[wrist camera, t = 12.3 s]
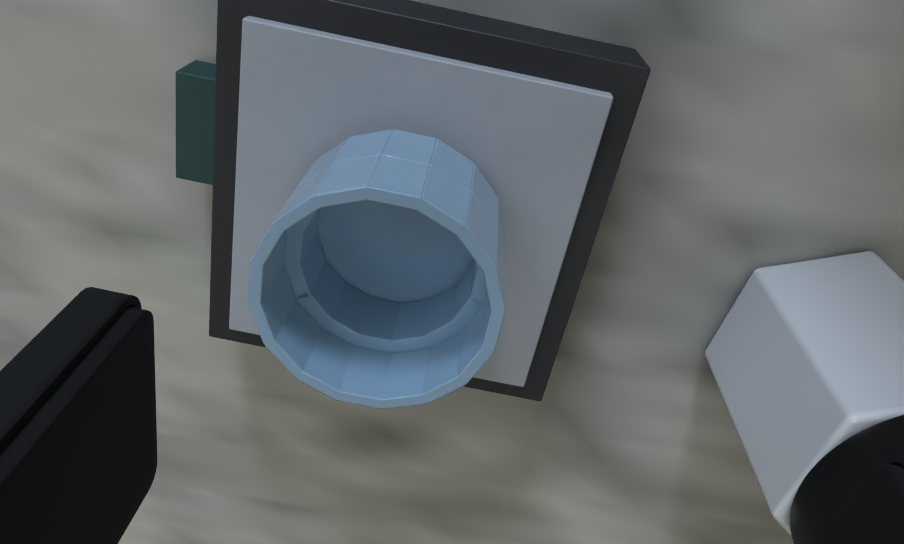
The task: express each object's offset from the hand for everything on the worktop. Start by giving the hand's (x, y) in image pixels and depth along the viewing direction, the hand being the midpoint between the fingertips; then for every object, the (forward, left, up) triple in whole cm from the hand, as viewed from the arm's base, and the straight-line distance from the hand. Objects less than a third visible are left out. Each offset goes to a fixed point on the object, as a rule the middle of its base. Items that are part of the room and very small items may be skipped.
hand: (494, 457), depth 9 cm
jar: (+8, +15, -19) cm, 26 cm away
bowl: (+5, -3, -16) cm, 17 cm away
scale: (+5, -3, -19) cm, 20 cm away
